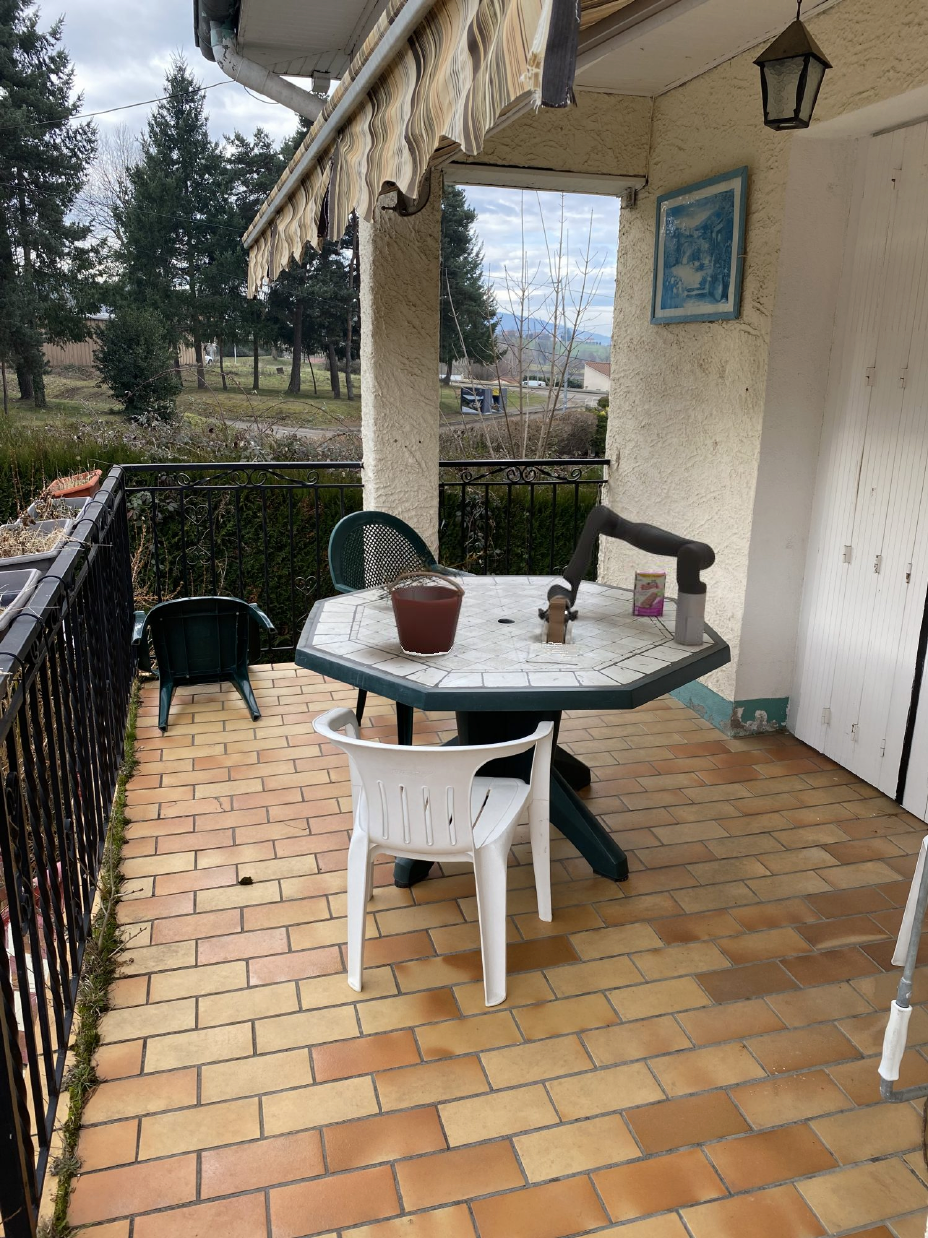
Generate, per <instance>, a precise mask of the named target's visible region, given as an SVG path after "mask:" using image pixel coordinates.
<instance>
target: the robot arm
mask: <svg viewBox="0 0 928 1238" xmlns="http://www.w3.org/2000/svg"><path fill="white" fill-rule="evenodd" d="M598 534H600V535H602V536H605V537H609V538H614V539H617V540H620V541H623V542H626V543H627V544H628V545H631V546H632V547H635V548H636V549H638V550H641V551H643V552H645V553H648V554H652V555H657V556H661V557H663V556H664V557H672V558H676V567H675V568H676V569H675V570H676V571H675V573H676V574H675V575H676V576H675V581H676V583H677V596H676V597H677V598H676V607H675V608H676V609H675V620H674V622H675V623H674V635H673V641H674V642H676V643H678V644H681V645H682V644H683V645H685V646H693V645H703V641H704V640H703V639H704V630H705V619H706V617H705V613H706V602H707V593H708V591H707V589H708V586H707V584H706V582H705V581H702V580H701V571H705V570H708V569H710V568H711V567H712V566H713V565H714V564H715V562H716V553H715V551H714V549H713V548H712V547H711V546H710V545H709V544H708V543H706V542H701V541H698V540H695V539H690V538H686V537H683V536H680V535H677V534H676V533H674V532H670V531H668V530H665V529H664V528H660V527H659V526H656V525H653V524H650V523H646V522H635V521H634V522H633V521H630V520H628V519H626V518H625V517H622V516H621V515H619V514H618V513H616V512H615V511H614V510H612V509H611V508H609V507H608V506H606V505H605V504H604V505H603V504H597V505H596V506H595V507H593V508H592V509H591V510H590V512H589V514H588V516H587V518H586V521H585V525H584V526H583V529H582V532H581V535H580V537H579V541H578V543H577V546H576V549H575V551H574V553H573V555H572V557H571V559H570V561H569V563H568V565H566V566H567V567H566V568H565V570H564V572H563V574H562V579H563V580H565V581H566V582H567V583H568V584H569V585H570V587H571V589H568V588H566V587H564V586H562V585H561V584H559V583H555V584H553V585H551V587H549V589H548V590H547V595H546V598H547V599H546V600H547V602H548V607H547V608H546V610H544V609H542V608H541V607H539V608H538V609H537V610H538V612H537V616H538V617H539V618H538V619H540V620H541V621H545V622H547V623H549V606H550V599H566V604H565V617H564V624H566V623H568V622H569V620H571V621H572V622H573V623H574V622H575V621H576V620H577V619H579V610H578V609H575V610H572V611H571V609H572V608H573V607H574V606H575V603H576V601H577V597H578V593H579V589H580V585H581V583H582V581H583V579H584V577H585V576H586V573H587V571H588V570H589V568H590V565H591V561H592V555H593V554H592V553H593V547H594V543H595V540H596V538H597V536H598Z"/></svg>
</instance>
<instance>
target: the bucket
mask: <svg viewBox="0 0 928 1238" xmlns="http://www.w3.org/2000/svg"><path fill="white" fill-rule="evenodd" d="M418 575H421V576H422V575H424V576H425V575H428V576H427V577H429V576H430V577H431V576H433V577H434V576H435V577H436V578H437V579H439V578H440V579H439V580H441V581H444V582H446V583H448V584H449V585H451V586H452V587H454V588H451V587H448V586H444V585H424V586H421V585H420V586H415V585H410V586H409V585H408V586H409V587H408V586H406V587H404V588H402V587H401V589H398V590H395V589H394V586H395V585H396V584H397V583H398V582H399V581H400V580H401V579H402V578H403V577H408V578H409V576H412V577H413V576H414V577H415V576H418ZM435 577H434V578H435ZM401 581H402V580H401ZM391 583H392V582H391ZM391 583H390V584H389V583H388V584H389V585H387V586H385V588H387V589H388V590H387V589H386V590H387V591H388V592H389V593H390V594H391V595H390V597H391V598H390V599H391V600H390V602H391V605H392V612H393V615H394V619H395V625H396V630H397V636H398V642H399V644H401V646H402V647H403V649H404V650H405V651H409V652H416V653H421V654H434V653H439V652H448V651H449V650H450V649H451V647H452V646H453V647H454V643H455V640H456V639H455V637H456V633H457V629H458V625H459V624H458V623H459V618H460V614H461V609H462V604H463V597H464V596H465V593H466V592H465V590H464V589H463V587H462V586H461V585H460V584H459V583H458V582H457V581H455V580H454V579H451V578H449V576H447V577H445V575H444V574H440V573H439V572H436V573H434V572H433V573H432V572H431V571H428V572H427V571H426V572H424V571H419V572H418V571H414V572H412V571H411V572H410V573H409V572H408V573H405V574H404V573H402V575H400V574H399V577H397V578H396V580H394V583H392V584H391ZM399 583H400V582H399ZM395 587H396V586H395ZM392 588H393V590H394V591H393V590H392V591H391V589H392ZM389 593H388V594H389ZM401 646H400V647H401ZM451 650H452V649H451Z"/></svg>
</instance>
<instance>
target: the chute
mask: <svg viewBox="0 0 928 1238" xmlns="http://www.w3.org/2000/svg"><path fill="white" fill-rule="evenodd" d="M573 623H574V621H573V622H572V621H571V620H569V622H568V623H566V624H565V626H567V627H566V632H565V637H564V644H570V645H571V638H572V633H573V631H572V630H573V625H574V624H573ZM548 631H549V623H547V622H545V623H544V628H543V632H542V635H541V643H542V642H547V643H548Z"/></svg>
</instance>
